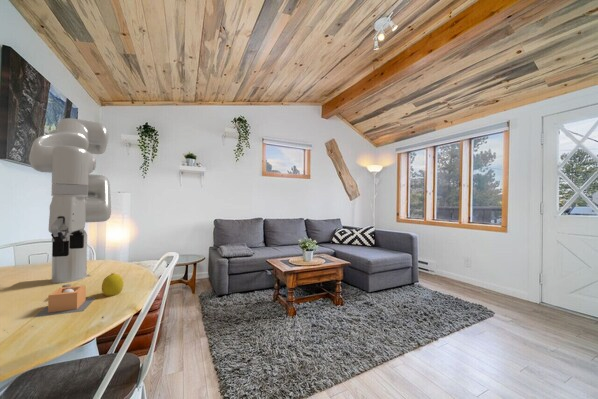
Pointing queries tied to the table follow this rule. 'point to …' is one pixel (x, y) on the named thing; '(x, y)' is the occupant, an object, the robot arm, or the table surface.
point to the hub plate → (81, 308)
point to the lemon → (112, 285)
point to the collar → (66, 299)
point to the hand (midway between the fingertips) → (69, 252)
